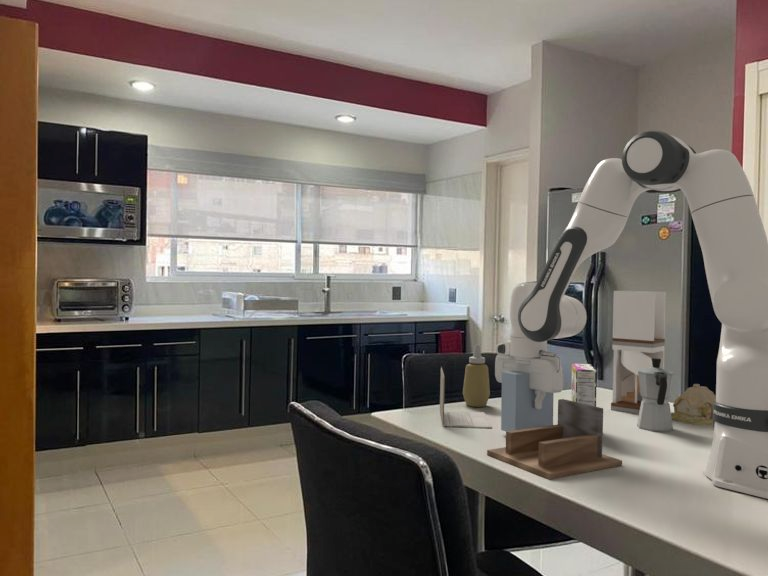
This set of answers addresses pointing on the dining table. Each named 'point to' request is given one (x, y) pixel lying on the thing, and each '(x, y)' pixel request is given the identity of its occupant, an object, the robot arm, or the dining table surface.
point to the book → (522, 403)
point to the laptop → (460, 414)
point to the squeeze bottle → (476, 381)
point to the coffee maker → (655, 398)
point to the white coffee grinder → (635, 343)
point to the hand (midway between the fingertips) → (527, 406)
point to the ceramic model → (694, 406)
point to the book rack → (560, 444)
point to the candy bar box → (584, 384)
